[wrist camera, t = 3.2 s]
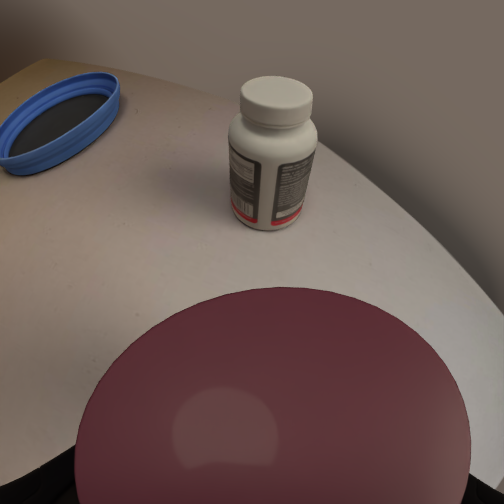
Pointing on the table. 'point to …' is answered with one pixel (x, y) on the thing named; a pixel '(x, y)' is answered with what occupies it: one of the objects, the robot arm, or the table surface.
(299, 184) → the pill bottle
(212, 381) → the maroon grooved cylinder
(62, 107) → the bowl
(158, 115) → the table surface
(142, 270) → the table surface
